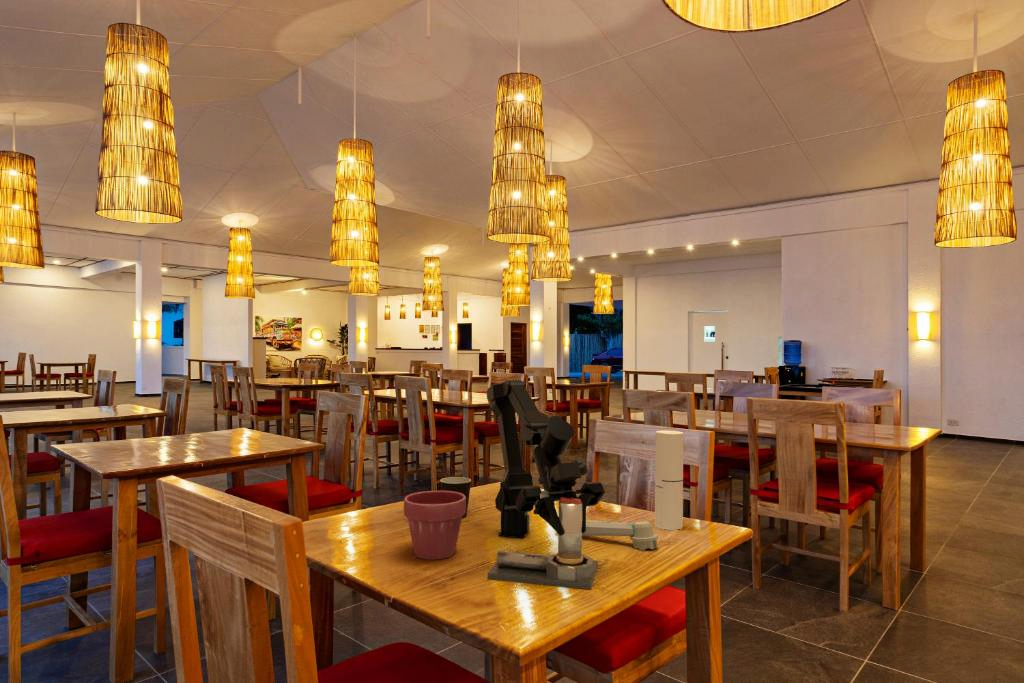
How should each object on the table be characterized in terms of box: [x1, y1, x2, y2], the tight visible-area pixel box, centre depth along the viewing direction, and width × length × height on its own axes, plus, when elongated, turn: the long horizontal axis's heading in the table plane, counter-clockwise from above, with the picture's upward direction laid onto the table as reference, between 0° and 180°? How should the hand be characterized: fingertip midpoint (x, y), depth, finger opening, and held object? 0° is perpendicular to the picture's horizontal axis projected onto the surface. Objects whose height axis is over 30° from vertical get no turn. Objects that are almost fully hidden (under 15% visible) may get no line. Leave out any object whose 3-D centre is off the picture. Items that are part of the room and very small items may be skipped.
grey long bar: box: [582, 519, 659, 551], centre depth 148 cm, size 5×7×25 cm
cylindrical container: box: [654, 429, 684, 531], centre depth 161 cm, size 7×7×25 cm
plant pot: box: [403, 490, 466, 560], centre depth 138 cm, size 14×14×13 cm
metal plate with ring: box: [487, 550, 599, 590], centre depth 126 cm, size 21×13×4 cm, turn 76°
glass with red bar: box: [556, 496, 584, 567], centre depth 123 cm, size 5×5×13 cm
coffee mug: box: [439, 476, 472, 519], centre depth 170 cm, size 12×9×10 cm
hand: (573, 533), depth 122 cm, fingers closed on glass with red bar, 5 cm apart
